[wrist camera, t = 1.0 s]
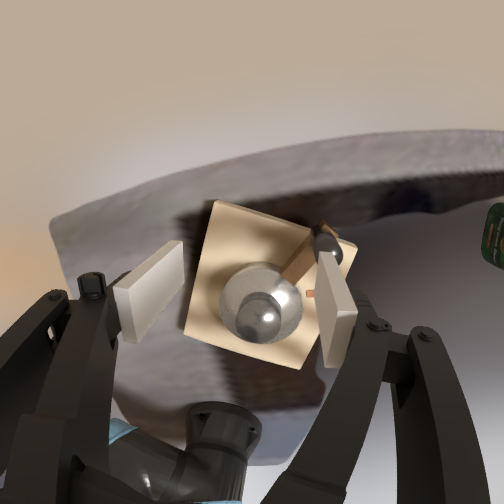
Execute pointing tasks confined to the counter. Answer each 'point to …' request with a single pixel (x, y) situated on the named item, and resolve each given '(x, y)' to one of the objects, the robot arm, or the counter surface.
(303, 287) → the stand
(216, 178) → the counter surface
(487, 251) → the coffee jar
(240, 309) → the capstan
